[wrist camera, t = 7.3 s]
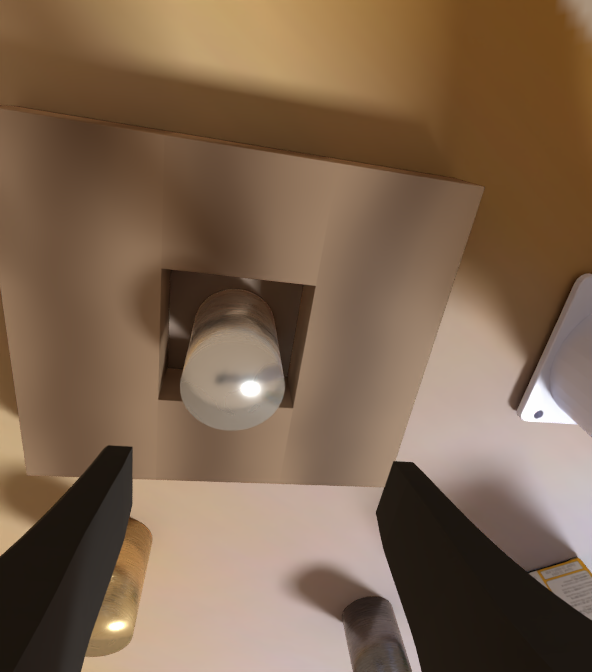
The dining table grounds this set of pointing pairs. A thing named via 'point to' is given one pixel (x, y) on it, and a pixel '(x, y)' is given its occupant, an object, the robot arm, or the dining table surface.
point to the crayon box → (569, 583)
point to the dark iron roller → (374, 637)
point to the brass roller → (122, 594)
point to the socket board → (220, 259)
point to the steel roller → (233, 362)
